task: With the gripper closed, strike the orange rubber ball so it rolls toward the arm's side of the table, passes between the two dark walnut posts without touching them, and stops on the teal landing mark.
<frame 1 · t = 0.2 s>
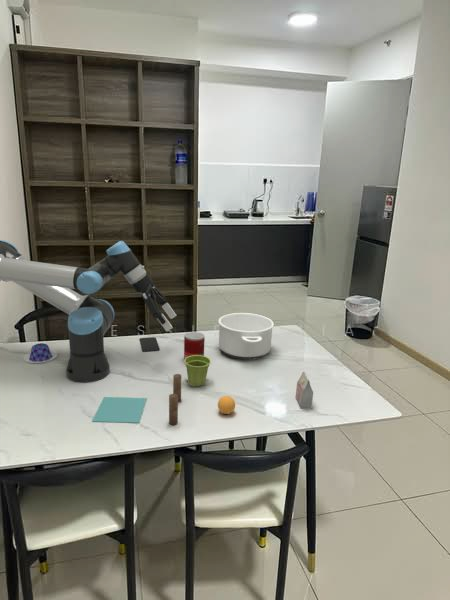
hand: (171, 323, 161), 16 cm above the table, tool tilted 35°, fingers open, 13 cm apart
pudding: (40, 358, 162), on the table
white red carton: (303, 403, 138), on the table
plant pot: (196, 383, 148), on the table
canned food: (193, 361, 165), on the table
ball: (226, 404, 130), on the table
phone: (149, 345, 179), on the table
post far: (177, 400, 136), on the table
landing mark: (120, 409, 129), on the table
pot: (244, 351, 177), on the table
post near: (173, 422, 124), on the table
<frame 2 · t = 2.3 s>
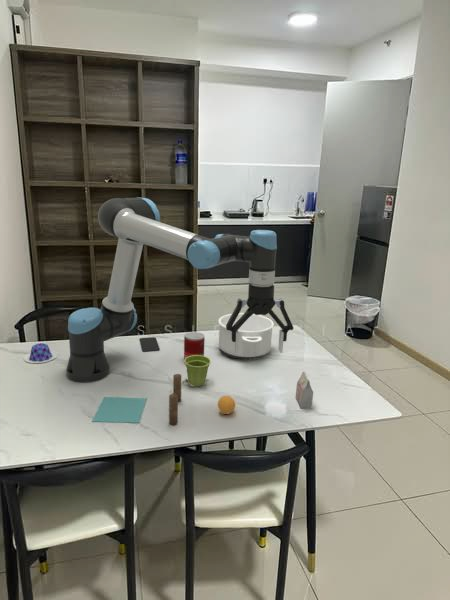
hand: (258, 351, 127), 20 cm above the table, tool pointing down, fingers open, 13 cm apart
nothing on the table moved.
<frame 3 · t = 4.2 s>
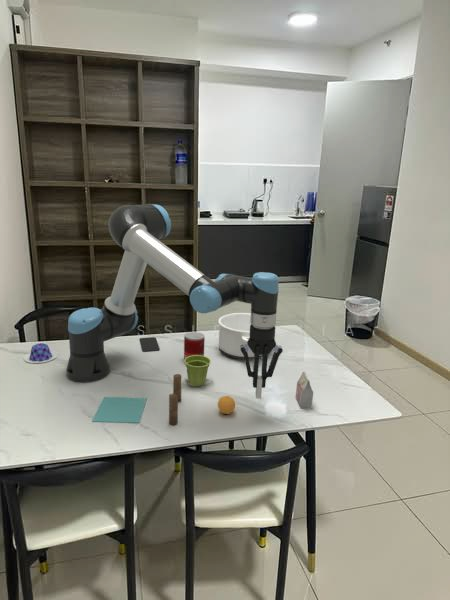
hand: (258, 396, 129), 6 cm above the table, tool pointing down, fingers closed
nothing on the table moved.
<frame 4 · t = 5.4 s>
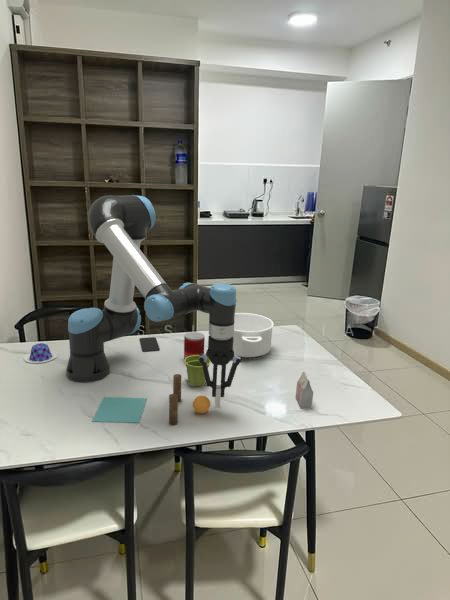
hand: (217, 405, 130), 2 cm above the table, tool pointing down, fingers closed
ball: (201, 404, 129), on the table
everything else where it was.
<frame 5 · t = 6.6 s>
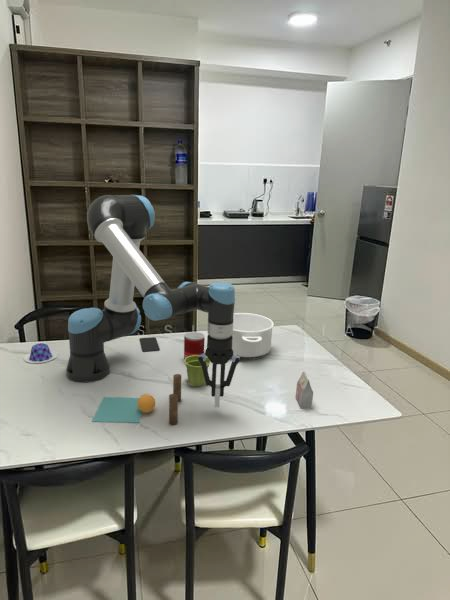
hand: (216, 404, 130), 3 cm above the table, tool pointing down, fingers closed
ball: (146, 403, 128), on the table
everything else where it was.
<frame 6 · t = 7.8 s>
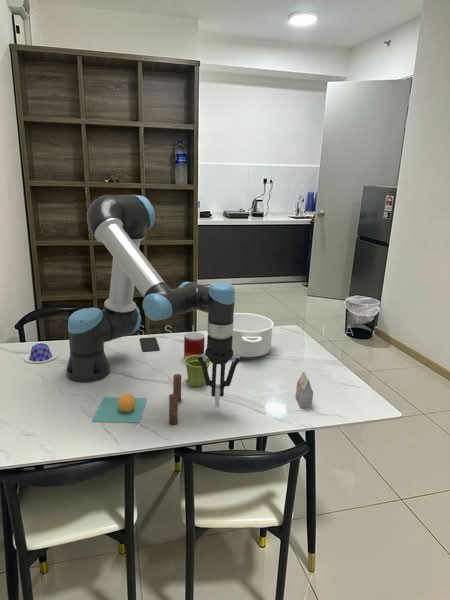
hand: (216, 404, 130), 3 cm above the table, tool pointing down, fingers closed
ball: (126, 403, 128), on the table
everything else where it was.
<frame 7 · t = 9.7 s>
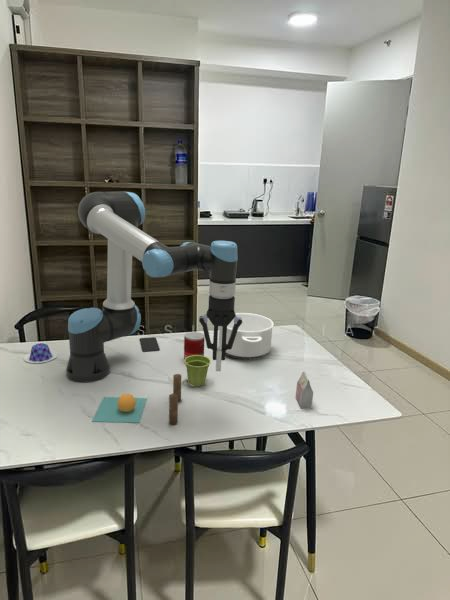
hand: (218, 369, 126), 15 cm above the table, tool pointing down, fingers closed
nothing on the table moved.
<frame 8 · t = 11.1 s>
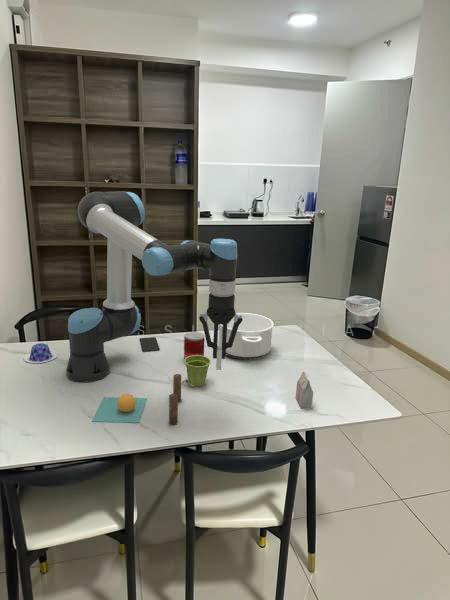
hand: (218, 367, 126), 15 cm above the table, tool pointing down, fingers closed
nothing on the table moved.
at the end: ball 2.1 cm from the landing mark (horizontally); ball never touched post near; ball never touched post far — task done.
